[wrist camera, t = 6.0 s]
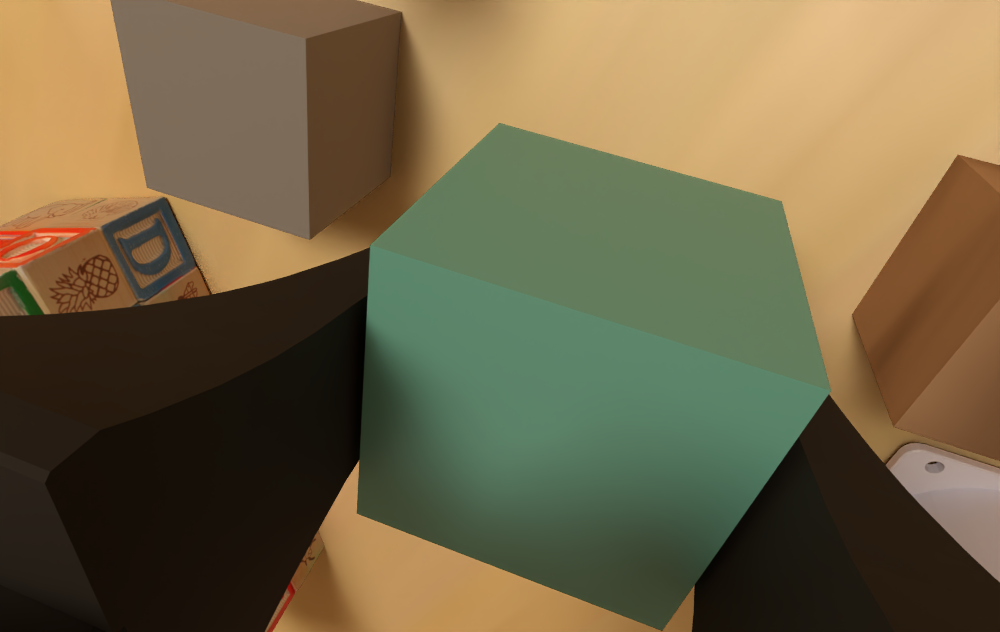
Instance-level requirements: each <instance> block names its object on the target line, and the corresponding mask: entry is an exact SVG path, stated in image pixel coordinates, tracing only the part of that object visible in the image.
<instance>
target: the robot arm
mask: <svg viewBox="0 0 1000 632" xmlns="http://www.w3.org/2000/svg"><path fill="white" fill-rule="evenodd" d="M369 261H370V248H368V249H365V250H362V251H360V252H357V253H354V254H352V255H349V256H347V257H344V258H341V259H338V260H335V261H332V262H329V263H326V264H323V265H320V266H317V267H314V268H311V269H308V270H305V271H302V272H299V273H296V274H293V275H290V276H287V277H283V278H280V279H276V280H272V281H269V282H265V283H261V284H257V285H253V286H248V287H244V288H240V289H235V290H231V291H227V292H222V293H217V294H212V295H206V296H199V297H193V298H187V299H181V300H175V301H169V302H162V303H156V304H150V305H143V306H134V307H125V308H116V309H107V310H96V311H84V312H71V313H59V314H42V315H17V316H0V632H265V630H266V628H267V626H268V624H269V623H270V621H271V619H272V617H273V615H274V613H275V611H276V609H277V607H278V605H279V603H280V601H281V599H282V597H283V595H284V593H285V591H286V589H287V587H288V585H289V584H290V582H291V580H292V578H293V576H294V574H295V572H296V570H297V569H298V567H299V565H300V563H301V561H302V559H303V557H304V555H305V554H306V552H307V550H308V548H309V546H310V544H311V542H312V541H313V539H314V537H315V535H316V533H317V531H318V529H319V528H320V526H321V524H322V522H323V520H324V519H325V517H326V515H327V513H328V512H329V510H330V508H331V506H332V504H333V503H334V501H335V499H336V497H337V496H338V494H339V492H340V490H341V488H342V487H343V485H344V483H345V481H346V480H347V478H348V477H349V475H350V474H351V472H352V470H353V469H354V467H355V466H356V464H357V463H358V461H359V460H360V440H361V420H362V400H363V380H364V360H365V340H366V320H367V300H368V280H369ZM933 461H936V462H937V463H936V464H927V463H929V462H933ZM692 632H1000V468H997V467H994V466H991V465H988V464H985V463H982V462H979V461H976V460H972V459H969V458H966V457H963V456H960V455H957V454H954V453H951V452H948V451H944V450H941V449H938V448H935V447H932V446H929V445H926V444H921V443H910V444H907V445H904V446H903V447H901V448H900V449H899V450H898V451H897V452H896V454H895V455H894V456H893V457H892V458H891V459H890V460H889V462H888V463H887V464H886V465H885V464H884V463H883V462H882V461H881V460H880V458H879V457H878V456H877V455H876V454H875V453H874V451H873V450H872V449H871V448H870V446H869V445H868V444H867V443H866V442H865V440H864V439H863V438H862V437H861V435H860V434H859V433H858V432H857V430H856V429H855V428H854V427H853V425H852V424H851V423H850V421H849V420H848V419H847V418H846V416H845V415H844V414H843V412H842V411H841V410H840V408H839V407H838V406H837V405H836V403H835V402H834V400H833V399H832V398H831V396H830V395H829V394H828V396H827V397H826V399H825V400H824V401H823V403H822V404H821V406H820V407H819V409H818V410H817V411H816V413H815V414H814V416H813V417H812V419H811V420H810V421H809V423H808V424H807V426H806V427H805V428H804V430H803V431H802V433H801V434H800V436H799V437H798V438H797V440H796V441H795V443H794V444H793V446H792V447H791V448H790V450H789V451H788V453H787V454H786V455H785V457H784V458H783V460H782V461H781V463H780V464H779V465H778V467H777V468H776V470H775V471H774V473H773V474H772V475H771V477H770V478H769V480H768V481H767V483H766V484H765V485H764V487H763V488H762V490H761V491H760V492H759V494H758V495H757V497H756V498H755V500H754V501H753V502H752V504H751V505H750V507H749V508H748V510H747V511H746V512H745V514H744V515H743V517H742V518H741V519H740V521H739V522H738V524H737V525H736V527H735V528H734V529H733V531H732V532H731V534H730V535H729V537H728V538H727V539H726V541H725V542H724V544H723V545H722V546H721V548H720V549H719V551H718V552H717V554H716V555H715V556H714V558H713V559H712V561H711V562H710V564H709V565H708V566H707V568H706V569H705V571H704V572H703V573H702V575H701V576H700V578H699V579H698V581H697V582H696V583H695V591H694V616H693V626H692Z"/></svg>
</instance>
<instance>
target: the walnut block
mask: <svg viewBox="0 0 1000 632" xmlns="http://www.w3.org/2000/svg"><path fill="white" fill-rule="evenodd" d="M852 315H853V318H854V321H855V323H856V326H857V329H858V331H859V334H860V337H861V340H862V342H863V345H864V348H865V351H866V353H867V356H868V359H869V361H870V364H871V367H872V370H873V372H874V375H875V378H876V381H877V383H878V386H879V389H880V391H881V394H882V397H883V400H884V402H885V405H886V408H887V410H888V413H889V416H890V419H891V421H892V424H893V427H895V428H898V429H901V430H905V431H908V432H911V433H914V434H917V435H920V436H923V437H927V438H930V439H933V440H936V441H939V442H942V443H945V444H948V445H952V446H955V447H958V448H961V449H964V450H967V451H970V452H974V453H977V454H980V455H983V456H986V457H989V458H992V459H995V460H999V461H1000V165H996V164H992V163H988V162H984V161H980V160H976V159H972V158H969V157H965V156H961V155H957V157H956V158H955V160H954V161H953V163H952V164H951V166H950V167H949V169H948V170H947V172H946V173H945V175H944V176H943V178H942V180H941V181H940V183H939V184H938V186H937V187H936V189H935V190H934V192H933V193H932V195H931V196H930V198H929V199H928V201H927V202H926V204H925V205H924V207H923V208H922V210H921V211H920V213H919V214H918V216H917V217H916V219H915V220H914V222H913V223H912V225H911V226H910V228H909V229H908V231H907V232H906V234H905V235H904V237H903V238H902V240H901V241H900V243H899V245H898V246H897V248H896V249H895V251H894V252H893V254H892V255H891V257H890V258H889V260H888V261H887V263H886V264H885V266H884V267H883V269H882V270H881V272H880V273H879V275H878V276H877V278H876V279H875V281H874V282H873V284H872V285H871V287H870V288H869V290H868V291H867V293H866V294H865V296H864V297H863V299H862V300H861V302H860V303H859V305H858V306H857V308H856V309H855V311H854V313H853V314H852Z"/></svg>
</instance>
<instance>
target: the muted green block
mask: <svg viewBox="0 0 1000 632" xmlns="http://www.w3.org/2000/svg"><path fill="white" fill-rule="evenodd" d="M830 392H831V389H830V385H829V381H828V377H827V374H826V370H825V366H824V362H823V358H822V354H821V350H820V347H819V343H818V339H817V335H816V331H815V327H814V324H813V320H812V316H811V312H810V308H809V304H808V300H807V297H806V293H805V289H804V285H803V281H802V277H801V274H800V270H799V266H798V262H797V258H796V254H795V250H794V247H793V243H792V239H791V235H790V231H789V227H788V223H787V220H786V216H785V212H784V208H783V204H782V201H778V200H775V199H771V198H768V197H764V196H760V195H757V194H753V193H750V192H746V191H742V190H739V189H735V188H732V187H728V186H724V185H721V184H717V183H713V182H710V181H706V180H703V179H699V178H695V177H692V176H688V175H685V174H681V173H677V172H674V171H670V170H667V169H663V168H659V167H656V166H652V165H649V164H645V163H641V162H638V161H634V160H631V159H627V158H623V157H620V156H616V155H613V154H609V153H605V152H602V151H598V150H595V149H591V148H587V147H584V146H580V145H576V144H573V143H569V142H566V141H562V140H558V139H555V138H551V137H548V136H544V135H540V134H537V133H533V132H530V131H526V130H522V129H519V128H515V127H512V126H508V125H504V124H501V123H499V124H498V125H497V126H496V127H495V128H494V129H493V130H492V131H491V132H490V133H489V134H487V135H486V136H485V137H484V138H483V139H482V140H481V141H480V142H479V143H478V144H477V145H476V146H475V147H474V148H473V149H472V150H470V151H469V152H468V153H467V154H466V155H465V156H464V157H463V158H462V159H461V160H460V161H459V162H458V163H457V164H456V165H455V166H454V167H452V168H451V169H450V170H449V171H448V172H447V173H446V174H445V175H444V176H443V177H442V178H441V179H440V180H439V181H438V182H437V183H435V184H434V185H433V186H432V187H431V188H430V189H429V190H428V191H427V192H426V193H425V194H424V195H423V196H422V197H421V198H420V199H419V200H417V201H416V202H415V203H414V204H413V205H412V206H411V207H410V208H409V209H408V210H407V211H406V212H405V213H404V214H403V215H402V216H401V217H399V218H398V219H397V220H396V221H395V222H394V223H393V224H392V225H391V226H390V227H389V228H388V229H387V230H386V231H385V232H384V233H382V234H381V235H380V236H379V237H378V238H377V239H376V240H375V241H374V242H373V243H372V244H371V245H370V261H369V280H368V300H367V320H366V340H365V360H364V380H363V400H362V420H361V440H360V460H359V480H358V500H357V514H359V515H362V516H365V517H367V518H370V519H372V520H375V521H378V522H380V523H383V524H385V525H388V526H391V527H393V528H396V529H399V530H401V531H404V532H406V533H409V534H412V535H414V536H417V537H419V538H422V539H425V540H427V541H430V542H432V543H435V544H438V545H440V546H443V547H445V548H448V549H451V550H453V551H456V552H458V553H461V554H464V555H466V556H469V557H471V558H474V559H477V560H479V561H482V562H484V563H487V564H490V565H492V566H495V567H497V568H500V569H503V570H505V571H508V572H510V573H513V574H516V575H518V576H521V577H523V578H526V579H529V580H531V581H534V582H536V583H539V584H542V585H544V586H547V587H549V588H552V589H555V590H557V591H560V592H562V593H565V594H568V595H570V596H573V597H575V598H578V599H581V600H583V601H586V602H588V603H591V604H594V605H596V606H599V607H601V608H604V609H607V610H609V611H612V612H614V613H617V614H620V615H622V616H625V617H627V618H630V619H633V620H635V621H638V622H640V623H643V624H646V625H648V626H651V627H653V628H656V629H659V630H661V631H662V630H663V629H664V628H665V626H666V625H667V623H668V622H669V620H670V619H671V618H672V616H673V615H674V613H675V612H676V610H677V609H678V608H679V606H680V605H681V603H682V602H683V600H684V599H685V598H686V596H687V595H688V593H689V592H690V591H691V589H692V588H693V586H694V585H695V583H696V582H697V581H698V579H699V578H700V576H701V575H702V573H703V572H704V571H705V569H706V568H707V566H708V565H709V564H710V562H711V561H712V559H713V558H714V556H715V555H716V554H717V552H718V551H719V549H720V548H721V546H722V545H723V544H724V542H725V541H726V539H727V538H728V537H729V535H730V534H731V532H732V531H733V529H734V528H735V527H736V525H737V524H738V522H739V521H740V519H741V518H742V517H743V515H744V514H745V512H746V511H747V510H748V508H749V507H750V505H751V504H752V502H753V501H754V500H755V498H756V497H757V495H758V494H759V492H760V491H761V490H762V488H763V487H764V485H765V484H766V483H767V481H768V480H769V478H770V477H771V475H772V474H773V473H774V471H775V470H776V468H777V467H778V465H779V464H780V463H781V461H782V460H783V458H784V457H785V455H786V454H787V453H788V451H789V450H790V448H791V447H792V446H793V444H794V443H795V441H796V440H797V438H798V437H799V436H800V434H801V433H802V431H803V430H804V428H805V427H806V426H807V424H808V423H809V421H810V420H811V419H812V417H813V416H814V414H815V413H816V411H817V410H818V409H819V407H820V406H821V404H822V403H823V401H824V400H825V399H826V397H827V396H828V394H829V393H830Z"/></svg>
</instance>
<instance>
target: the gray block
mask: <svg viewBox="0 0 1000 632" xmlns="http://www.w3.org/2000/svg"><path fill="white" fill-rule="evenodd" d="M111 6H112V11H113V16H114V21H115V26H116V31H117V36H118V41H119V47H120V52H121V57H122V62H123V67H124V72H125V77H126V82H127V87H128V93H129V98H130V103H131V108H132V113H133V118H134V123H135V128H136V134H137V139H138V144H139V149H140V154H141V159H142V164H143V169H144V175H145V180H146V185H147V188H149V189H152V190H156V191H159V192H162V193H165V194H168V195H171V196H174V197H177V198H181V199H184V200H187V201H190V202H193V203H196V204H199V205H202V206H205V207H209V208H212V209H215V210H218V211H221V212H224V213H227V214H230V215H233V216H237V217H240V218H243V219H246V220H249V221H252V222H255V223H258V224H262V225H265V226H268V227H271V228H274V229H277V230H280V231H283V232H286V233H290V234H293V235H296V236H299V237H302V238H305V239H308V240H310V239H311V238H313V237H314V236H315V235H317V234H318V233H319V232H320V231H322V230H323V229H324V228H325V227H327V226H328V225H329V224H331V223H332V222H333V221H334V220H336V219H337V218H338V217H339V216H341V215H342V214H343V213H345V212H346V211H347V210H348V209H350V208H351V207H352V206H353V205H355V204H356V203H357V202H359V201H360V200H361V199H362V198H364V197H365V196H366V195H367V194H369V193H370V192H371V191H373V190H374V189H375V188H376V187H378V186H379V185H380V184H381V183H383V182H384V181H385V180H387V179H388V178H389V177H390V172H391V158H392V143H393V128H394V114H395V99H396V84H397V70H398V55H399V41H400V26H401V12H400V11H396V10H392V9H389V8H385V7H381V6H377V5H373V4H369V3H365V2H361V1H357V0H111Z"/></svg>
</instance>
